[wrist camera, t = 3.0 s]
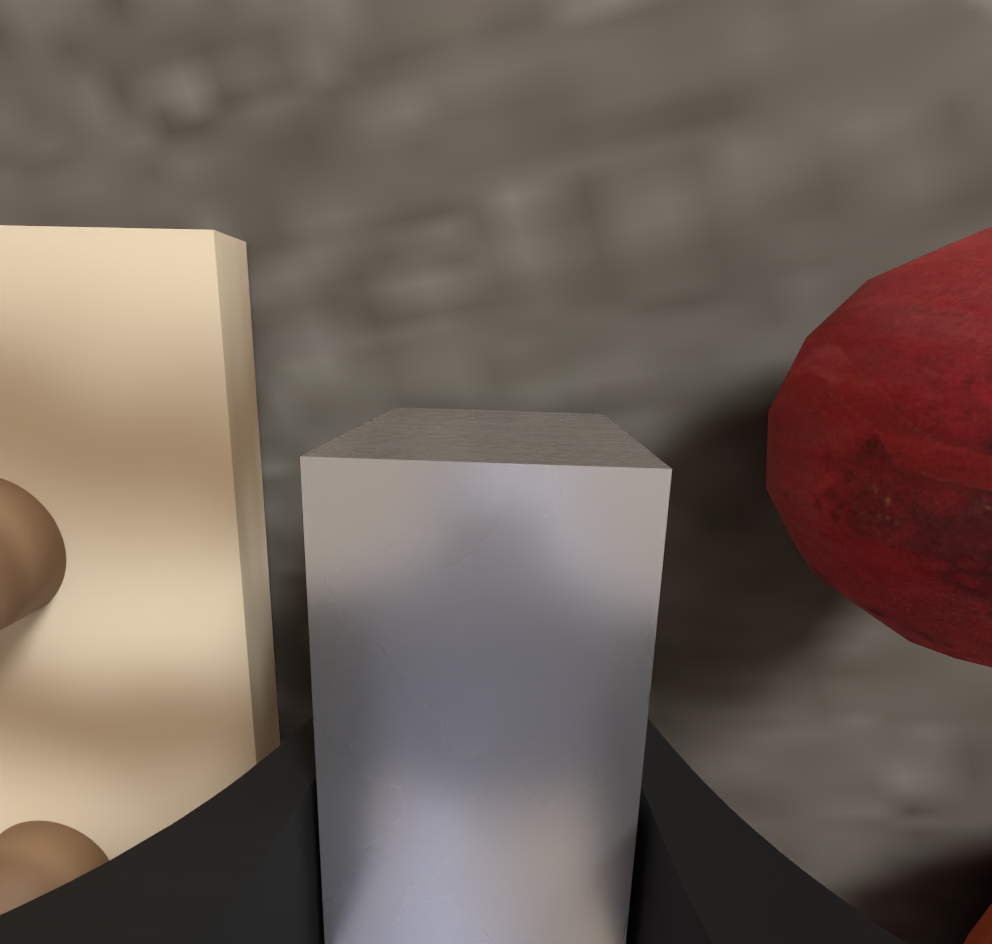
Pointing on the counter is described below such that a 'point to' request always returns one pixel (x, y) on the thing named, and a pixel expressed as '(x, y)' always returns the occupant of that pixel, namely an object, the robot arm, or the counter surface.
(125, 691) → the wooden board
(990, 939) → the tomato
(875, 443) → the onion
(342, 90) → the counter surface
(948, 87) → the counter surface
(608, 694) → the grey long rectangular block
